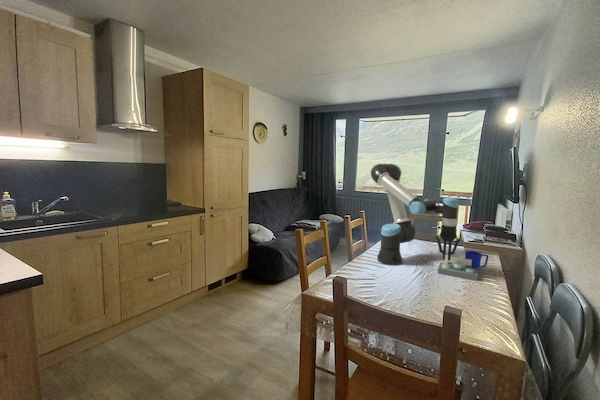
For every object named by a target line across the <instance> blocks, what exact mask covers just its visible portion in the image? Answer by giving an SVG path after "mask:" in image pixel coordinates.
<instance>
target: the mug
mask: <svg viewBox="0 0 600 400" xmlns="http://www.w3.org/2000/svg"><path fill="white" fill-rule="evenodd" d="M464 255H465V257H464V259H470V260H472V264H471V268H477V271H479V269H480V268H485V267H486V266H487V264H488V260H489V255H487V254H484V253H483V254H482V253H481V252H478V251H476V250H475V251H474V250H465V252H464ZM482 257H486V259H485V262H484V264H483V265H481V260H482Z"/></svg>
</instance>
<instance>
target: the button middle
mask: <svg viewBox="0 0 600 400" xmlns="http://www.w3.org/2000/svg"><path fill="white" fill-rule="evenodd" d="M453 269H455V270H461V271H462V264H460V263H454V265H453Z"/></svg>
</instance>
